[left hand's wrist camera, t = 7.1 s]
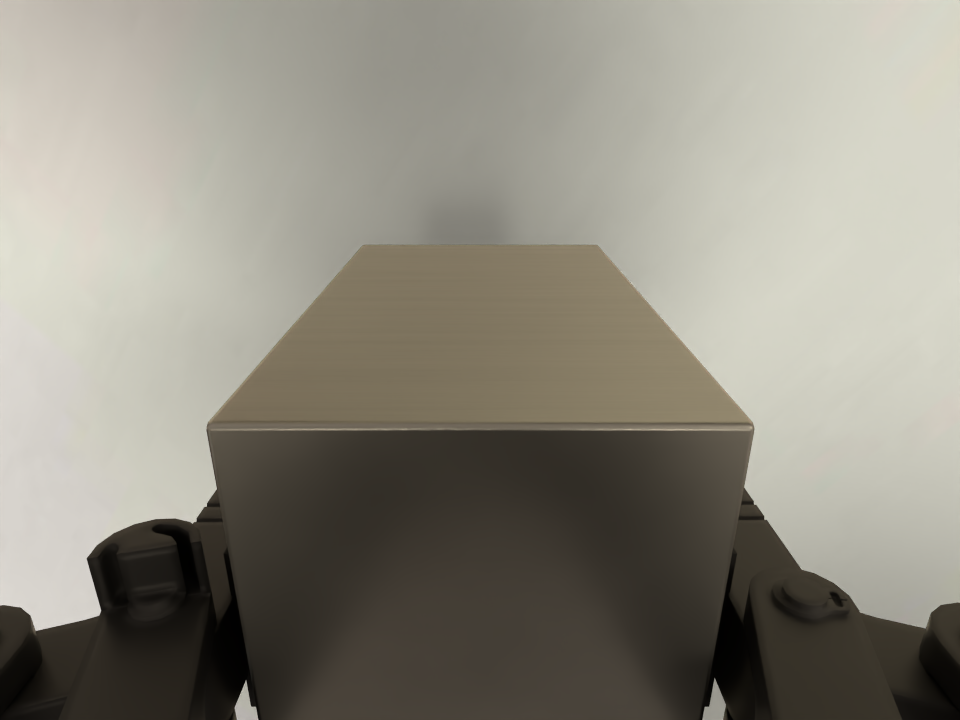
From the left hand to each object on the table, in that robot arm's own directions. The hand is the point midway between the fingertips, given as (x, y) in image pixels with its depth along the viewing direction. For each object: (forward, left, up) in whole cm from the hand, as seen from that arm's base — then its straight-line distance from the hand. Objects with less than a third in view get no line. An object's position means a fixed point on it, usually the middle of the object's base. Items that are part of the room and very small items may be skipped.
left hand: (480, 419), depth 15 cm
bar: (+9, 0, -1) cm, 9 cm away
